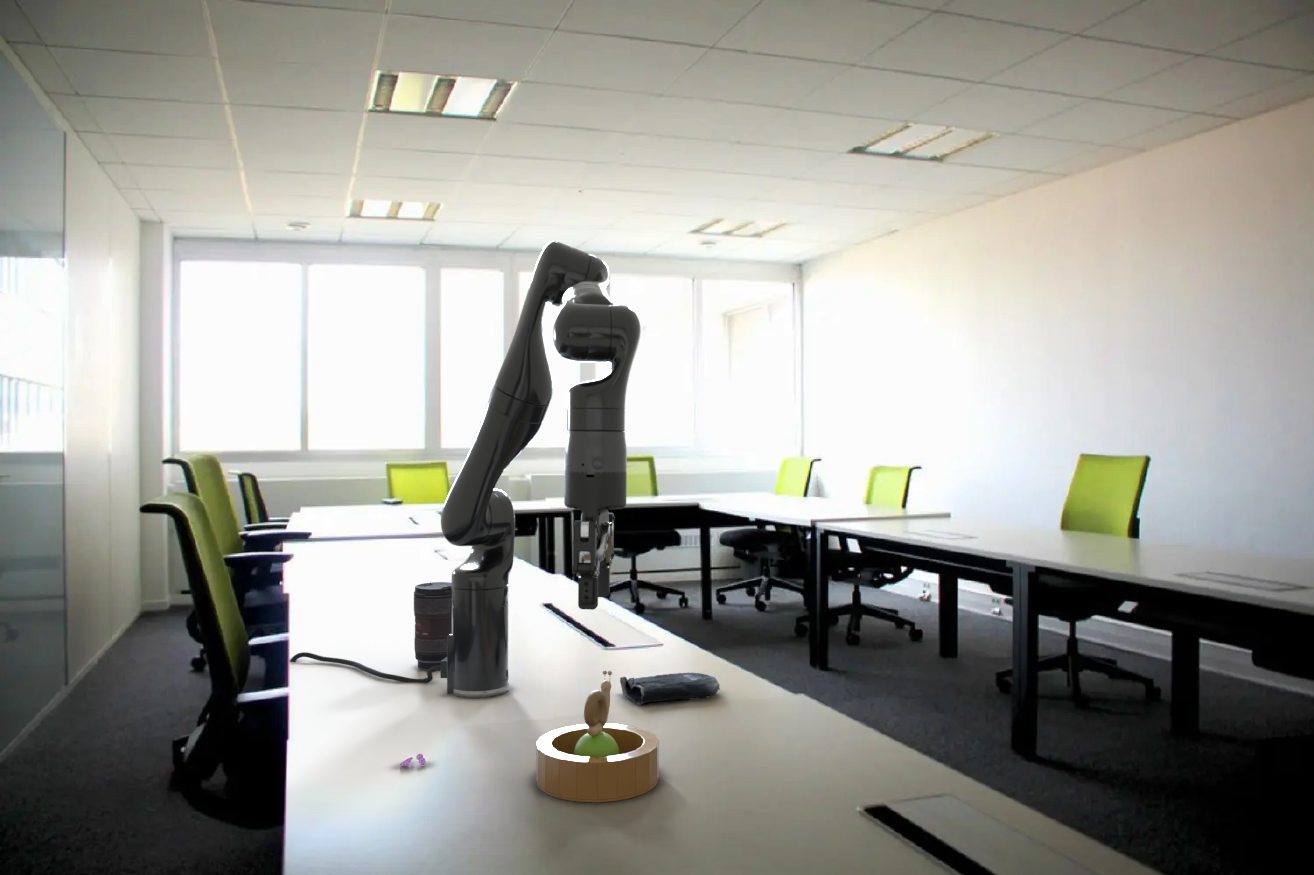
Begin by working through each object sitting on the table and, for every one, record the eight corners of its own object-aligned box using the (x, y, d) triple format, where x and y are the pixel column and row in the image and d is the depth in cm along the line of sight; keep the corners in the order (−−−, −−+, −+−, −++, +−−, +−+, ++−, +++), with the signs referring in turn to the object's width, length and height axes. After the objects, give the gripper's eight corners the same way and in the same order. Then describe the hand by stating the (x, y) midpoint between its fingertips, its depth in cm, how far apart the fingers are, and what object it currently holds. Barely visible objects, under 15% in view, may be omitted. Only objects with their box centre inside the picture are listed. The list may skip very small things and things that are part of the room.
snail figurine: (628, 770, 112) (628, 671, 112) (608, 788, 105) (608, 684, 106) (587, 765, 113) (588, 668, 114) (566, 782, 107) (566, 680, 107)
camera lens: (404, 669, 165) (404, 586, 165) (431, 660, 172) (431, 580, 172) (441, 673, 162) (441, 589, 162) (467, 663, 169) (467, 583, 169)
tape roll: (523, 799, 103) (523, 759, 103) (551, 757, 117) (551, 721, 117) (651, 804, 101) (651, 764, 101) (663, 760, 116) (663, 725, 116)
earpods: (405, 779, 113) (405, 774, 112) (399, 767, 114) (399, 763, 113) (427, 765, 115) (427, 761, 113) (421, 754, 115) (421, 750, 114)
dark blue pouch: (644, 718, 139) (730, 693, 145) (638, 681, 139) (723, 659, 146) (623, 710, 147) (704, 688, 154) (617, 676, 148) (698, 655, 154)
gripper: (576, 467, 118) (575, 592, 118) (552, 469, 104) (550, 612, 103) (634, 467, 117) (633, 594, 117) (617, 470, 103) (616, 614, 103)
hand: (594, 602), depth 110 cm, fingers open, 8 cm apart
